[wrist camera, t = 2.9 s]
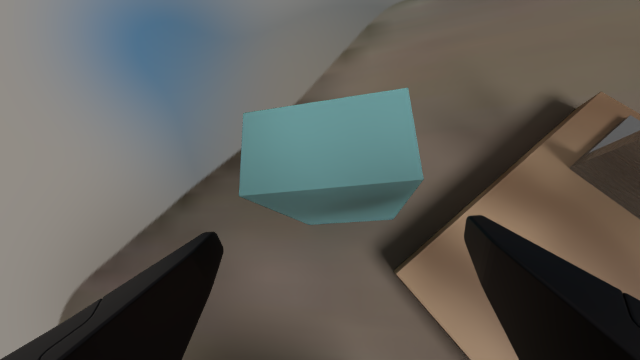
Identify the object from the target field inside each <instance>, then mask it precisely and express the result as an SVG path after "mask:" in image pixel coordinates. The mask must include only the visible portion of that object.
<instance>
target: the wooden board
mask: <svg viewBox="0 0 640 360" xmlns="http://www.w3.org/2000/svg"><path fill="white" fill-rule="evenodd" d="M630 115H631V116H633V117H634V118H636V119H638V120H640V114H639V113H637V112H635V111H634V110H632V109H630V108H628V107H627V106H625V105H623V104H622V103H620V102H618V101H616V100H615V99H613V98H611V97H610V96H608V95H606V94H604V93H603V92H600V93H598V94H597V95H595V96H594V97H593V98H591V99H590V100H588V101H587V102H585V103H584V104H582V105H581V106H579V107H578V108H577V109H575V110H574V111H573V112H572V113H571V114H570V115H569V116H568V117H566V118H565V119H564V120H563V121H562V122H561V123H560V124H558V125H557V126H556V127H555V128H554V129H553V130H552V131H551V132H549V133H548V134H547V135H546V136H545V137H544V138H543V139H542V140H540V141H539V142H538V143H537V144H536V145H535V146H534V147H533V148H531V149H530V150H529V151H528V152H527V153H526V154H525V155H524V156H522V157H521V158H520V159H519V160H518V161H517V162H516V163H515V164H513V165H512V166H511V167H510V168H509V169H508V170H507V171H506V172H504V173H503V174H502V175H501V176H500V177H499V178H498V179H497V180H495V181H494V182H493V183H492V184H491V185H490V186H489V187H488V188H486V189H485V190H484V191H483V192H482V193H481V194H480V195H479V196H477V197H476V198H475V199H474V200H473V201H472V202H471V203H470V204H468V205H467V206H466V207H465V208H464V209H463V210H462V211H461V212H459V213H458V214H457V215H456V216H455V217H454V218H453V219H452V220H450V221H449V222H448V223H447V224H446V225H445V226H444V227H443V228H441V229H440V230H439V231H438V232H437V233H436V234H435V235H434V236H432V237H431V238H430V239H429V240H428V241H427V242H426V243H425V244H423V245H422V246H421V247H420V248H419V249H418V250H417V251H416V252H414V253H413V254H412V255H411V256H410V257H409V258H408V259H406V260H405V261H404V262H403V263H402V264H401V265H400V266H399V267H397V268H396V269H395V270H394V273H395V274H396V275H397V276H398V277H399V278H400V280H401V281H402V282H403V283H404V284H405V285H406V286H407V288H408V289H409V290H410V291H411V292H412V293H413V294H414V296H415V297H416V298H417V299H418V300H419V301H420V303H421V304H422V305H423V306H424V307H425V308H426V309H427V311H428V312H429V313H430V314H431V315H432V316H433V317H434V319H435V320H436V321H437V322H438V323H439V324H440V326H441V327H442V328H443V329H444V330H445V331H446V332H447V334H448V335H449V336H450V337H451V338H452V339H453V340H454V342H455V343H456V344H457V345H458V346H459V347H460V349H461V350H462V351H463V352H464V353H465V354H466V355H467V357H468V358H469V359H470V360H519V359H518V357H517V355H516V353H515V351H514V349H513V347H512V345H511V343H510V341H509V339H508V337H507V335H506V333H505V331H504V329H503V327H502V325H501V324H500V322H499V320H498V318H497V316H496V314H495V312H494V310H493V308H492V306H491V304H490V302H489V300H488V298H487V296H486V294H485V292H484V290H483V288H482V286H481V283H480V281H479V278H478V276H477V273H476V271H475V268H474V265H473V263H472V260H471V257H470V255H469V252H468V249H467V247H466V244H465V241H464V231H465V224H466V219H467V217H468V216H472V215H483V216H485V217H487V218H488V219H490V220H492V221H494V222H496V223H498V224H500V225H501V226H503V227H505V228H507V229H509V230H511V231H512V232H514V233H516V234H518V235H520V236H522V237H524V238H525V239H527V240H529V241H531V242H533V243H535V244H536V245H538V246H540V247H542V248H544V249H546V250H548V251H549V252H551V253H553V254H555V255H557V256H559V257H561V258H562V259H564V260H566V261H568V262H570V263H572V264H573V265H575V266H577V267H579V268H581V269H583V270H585V271H586V272H588V273H590V274H592V275H594V276H596V277H597V278H599V279H601V280H603V281H605V282H607V283H609V284H610V285H612V286H614V287H616V288H618V289H620V290H621V291H622V293H627V294H629V295H631V296H633V297H635V298H636V299H638V300H640V219H639V218H637V217H636V216H634V215H633V214H632V213H630V212H629V211H627V210H626V209H625V208H623V207H622V206H620V205H619V204H618V203H616V202H615V201H614V200H612V199H611V198H609V197H608V196H607V195H605V194H604V193H602V192H601V191H600V190H598V189H597V188H595V187H594V186H593V185H591V184H590V183H589V182H587V181H586V180H584V179H583V178H582V177H580V176H579V175H577V174H576V173H575V172H573V171H572V170H570V169H569V167H571V166H572V165H573V164H574V163H575V162H576V161H577V160H578V159H579V158H581V157H582V156H583V155H584V154H585V153H586V152H587V151H588V150H589V149H591V148H592V147H593V146H594V145H595V144H596V143H597V142H598V141H599V140H601V139H602V138H603V137H604V136H605V135H606V134H607V133H608V132H610V131H611V130H612V129H613V128H614V127H615V126H616V125H617V124H618V123H620V122H621V121H622V120H623V119H624V118H626V117H628V116H630Z"/></svg>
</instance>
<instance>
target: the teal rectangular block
mask: <svg viewBox="0 0 640 360" xmlns="http://www.w3.org/2000/svg"><path fill="white" fill-rule="evenodd" d="M423 180H424V179H423V173H422V167H421V162H420V156H419V150H418V144H417V138H416V132H415V126H414V120H413V115H412V109H411V103H410V97H409V91H408V88H403V89H397V90H390V91H384V92H377V93H371V94H364V95H358V96H351V97H345V98H338V99H332V100H325V101H319V102H312V103H306V104H299V105H293V106H286V107H280V108H273V109H267V110H260V111H254V112H248V113H244V114H243V130H242V148H241V167H240V186H239V196H240V197H242V198H245V199H247V200H250V201H252V202H255V203H257V204H259V205H262V206H264V207H267V208H269V209H272V210H274V211H276V212H279V213H281V214H284V215H286V216H289V217H291V218H294V219H296V220H298V221H301V222H303V223H306V224H308V225H314V224H329V223H345V222H360V221H376V220H391V219H394V218H395V216H396V215H397V214H398V212H399V211H400V210H401V208H402V207H403V206H404V204H405V203H406V202H407V200H408V199H409V198H410V197H411V195H412V194H413V193H414V191H415V190H416V189H417V187H418V186H419V185H420V183H421V182H422V181H423Z"/></svg>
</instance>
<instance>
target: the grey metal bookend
mask: <svg viewBox="0 0 640 360" xmlns="http://www.w3.org/2000/svg"><path fill="white" fill-rule="evenodd" d="M569 169H570V170H572V171H573V172H575V173H576V174H577V175H579V176H580V177H582V178H583V179H584V180H586V181H587V182H589V183H590V184H591V185H593V186H594V187H595V188H597V189H598V190H600V191H601V192H602V193H604V194H605V195H607V196H608V197H609V198H611V199H612V200H614V201H615V202H616V203H618V204H619V205H620V206H622V207H623V208H625V209H626V210H627V211H629V212H630V213H632V214H633V215H634V216H636V217H637V218H639V219H640V120H638V119H636V118H634V117H633V116H631V115H630V116H628V117H626V118H624V119H623V120H622V121H621V122H620V123H618V124H617V125H616V126H615V127H614V128H613V129H612V130H611V131H610V132H608V133H607V134H606V135H605V136H604V137H603V138H602V139H601V140H599V141H598V142H597V143H596V144H595V145H594V146H593V147H592V148H591V149H589V150H588V151H587V152H586V153H585V154H584V155H583V156H582V157H581V158H579V159H578V160H577V161H576V162H575V163H574V164H573V165H572V166H571V167H569Z"/></svg>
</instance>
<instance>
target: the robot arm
mask: <svg viewBox="0 0 640 360" xmlns="http://www.w3.org/2000/svg"><path fill="white" fill-rule="evenodd" d="M464 241H465V244H466V247H467V249H468V252H469V255H470V257H471V260H472V263H473V265H474V268H475V271H476V273H477V276H478V278H479V281H480V283H481V286H482V288H483V290H484V292H485V294H486V296H487V298H488V300H489V302H490V304H491V306H492V308H493V310H494V312H495V314H496V316H497V318H498V320H499V322H500V324H501V325H502V327H503V329H504V331H505V333H506V335H507V337H508V339H509V341H510V343H511V345H512V347H513V349H514V351H515V353H516V355H517V357H518V359H519V360H640V300H638V299H636V298H635V297H633V296H631V295H629V294H627V293H622V291H621V290H620V289H618V288H616V287H614V286H612V285H610V284H609V283H607V282H605V281H603V280H601V279H599V278H597V277H596V276H594V275H592V274H590V273H588V272H586V271H585V270H583V269H581V268H579V267H577V266H575V265H573V264H572V263H570V262H568V261H566V260H564V259H562V258H561V257H559V256H557V255H555V254H553V253H551V252H549V251H548V250H546V249H544V248H542V247H540V246H538V245H536V244H535V243H533V242H531V241H529V240H527V239H525V238H524V237H522V236H520V235H518V234H516V233H514V232H512V231H511V230H509V229H507V228H505V227H503V226H501V225H500V224H498V223H496V222H494V221H492V220H490V219H488V218H487V217H485V216H483V215H472V216H468V217H467V219H466V224H465V231H464ZM222 255H223V246H222V244H221V242H220V240H219V238H218V236H217V234H216V233H215V232H205V233H202V234H201V235H199V236H198V237H196V238H195V239H193V240H191V241H190V242H188V243H187V244H185V245H184V246H182V247H181V248H179V249H177V250H176V251H174V252H173V253H171V254H170V255H168V256H167V257H165V258H163V259H162V260H160V261H159V262H157V263H156V264H154V265H152V266H151V267H149V268H148V269H146V270H145V271H143V272H142V273H140V274H138V275H137V276H135V277H134V278H132V279H131V280H129V281H128V282H126V283H124V284H123V285H121V286H120V287H118V288H117V289H115V290H113V291H112V292H110V293H109V294H107V295H106V296H104V297H103V299H99V300H98V301H96V302H95V303H93V304H92V305H90V306H88V307H87V308H85V309H84V310H82V311H80V312H79V313H77V314H76V315H74V316H73V317H71V318H69V319H68V320H66V321H64V322H63V323H61V324H59V325H58V326H56V327H55V328H53V329H51V330H50V331H48V332H46V333H44V334H43V335H41V336H39V337H38V338H36V339H34V340H33V341H31V342H29V343H27V344H26V345H24V346H22V347H21V348H19V349H17V350H16V351H14V352H12V353H11V354H9V355H7V356H5V357H4V358H2V359H0V360H182V358H183V355H184V353H185V351H186V348H187V346H188V344H189V341H190V339H191V337H192V334H193V332H194V330H195V327H196V325H197V323H198V320H199V318H200V316H201V313H202V311H203V309H204V306H205V304H206V302H207V299H208V297H209V294H210V292H211V289H212V286H213V284H214V280H215V277H216V274H217V271H218V268H219V265H220V262H221V259H222Z"/></svg>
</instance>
